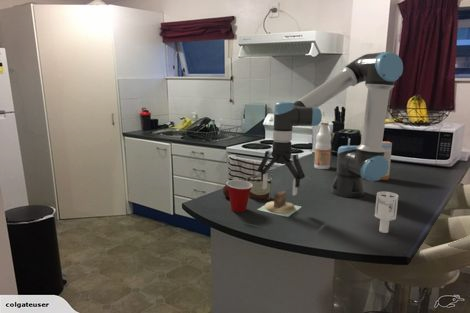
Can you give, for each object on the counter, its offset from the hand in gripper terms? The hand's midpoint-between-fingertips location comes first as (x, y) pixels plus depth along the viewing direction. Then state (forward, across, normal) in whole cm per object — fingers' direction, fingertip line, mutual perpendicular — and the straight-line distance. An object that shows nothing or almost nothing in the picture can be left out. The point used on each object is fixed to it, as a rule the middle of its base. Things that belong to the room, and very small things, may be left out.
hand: (279, 191), depth 150 cm
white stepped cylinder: (+8, -41, -1) cm, 42 cm away
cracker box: (+7, -22, -75) cm, 79 cm away
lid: (+7, 0, 0) cm, 7 cm away
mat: (+8, 0, 0) cm, 8 cm away
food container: (+8, +14, -9) cm, 18 cm away
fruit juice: (+7, +11, -83) cm, 84 cm away
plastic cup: (+8, +13, +11) cm, 18 cm away
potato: (+8, +25, -2) cm, 26 cm away
